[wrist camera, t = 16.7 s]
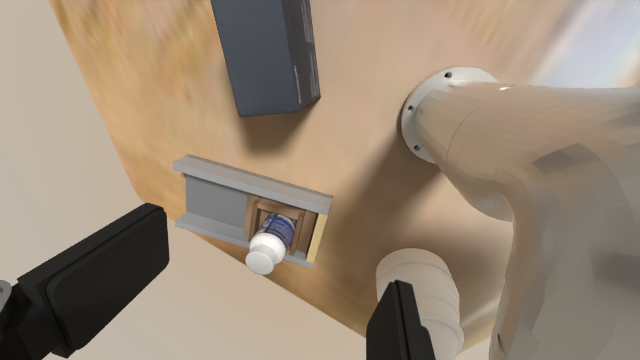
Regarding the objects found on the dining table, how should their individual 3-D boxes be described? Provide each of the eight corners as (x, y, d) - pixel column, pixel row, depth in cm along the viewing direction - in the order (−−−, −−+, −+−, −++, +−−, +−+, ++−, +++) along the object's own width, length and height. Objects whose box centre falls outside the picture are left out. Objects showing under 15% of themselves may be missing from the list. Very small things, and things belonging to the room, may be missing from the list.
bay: (333, 196, 40) (329, 208, 36) (316, 253, 46) (311, 269, 42) (189, 154, 41) (172, 162, 38) (190, 214, 47) (175, 226, 44)
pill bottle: (274, 203, 39) (248, 241, 31) (302, 219, 40) (284, 261, 31) (262, 226, 42) (234, 266, 33) (289, 240, 42) (268, 285, 33)
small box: (256, -3, 30) (196, -44, 20) (308, -14, 29) (274, -65, 18) (276, 104, 35) (237, 118, 25) (321, 99, 34) (301, 111, 23)
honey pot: (387, 239, 42) (401, 345, 26) (462, 259, 41) (526, 382, 25) (367, 290, 47) (368, 403, 31) (433, 308, 46) (469, 435, 30)
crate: (319, 205, 40) (315, 217, 37) (308, 247, 44) (303, 261, 41) (252, 185, 41) (242, 195, 37) (247, 228, 45) (237, 241, 41)
